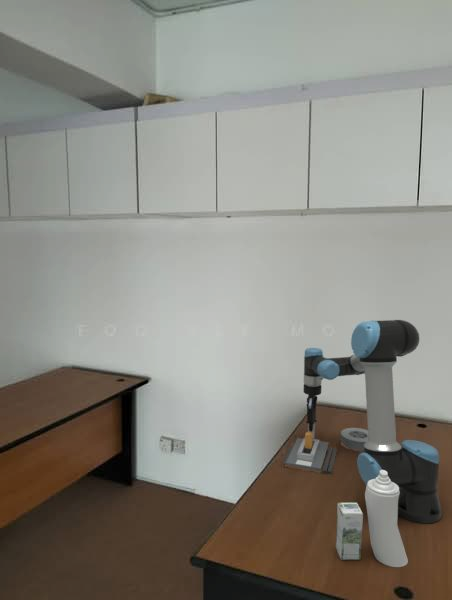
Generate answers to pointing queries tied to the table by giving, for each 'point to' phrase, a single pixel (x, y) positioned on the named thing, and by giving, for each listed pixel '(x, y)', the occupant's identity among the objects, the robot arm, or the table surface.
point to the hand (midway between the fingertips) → (311, 437)
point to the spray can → (384, 520)
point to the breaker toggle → (308, 442)
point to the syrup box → (349, 531)
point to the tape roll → (354, 438)
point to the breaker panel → (317, 459)
